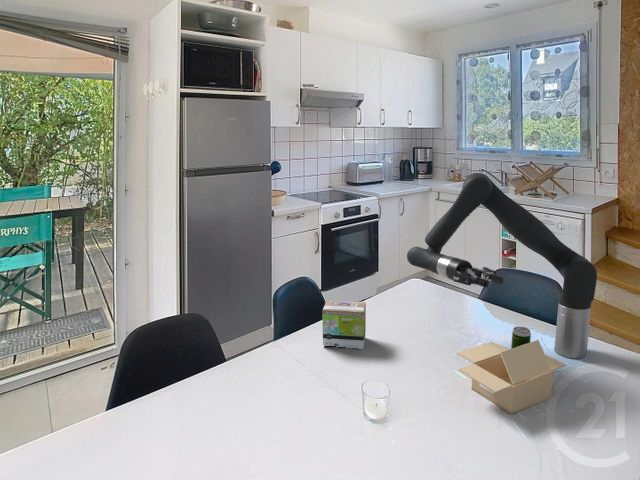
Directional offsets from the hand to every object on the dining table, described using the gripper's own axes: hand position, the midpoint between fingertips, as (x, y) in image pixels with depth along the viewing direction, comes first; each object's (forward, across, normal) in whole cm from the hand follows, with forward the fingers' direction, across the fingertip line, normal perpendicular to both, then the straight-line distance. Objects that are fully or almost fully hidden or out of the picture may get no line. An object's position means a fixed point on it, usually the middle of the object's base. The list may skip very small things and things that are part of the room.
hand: (494, 282), depth 129 cm
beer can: (0, +13, +30) cm, 33 cm away
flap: (+17, -3, +22) cm, 28 cm away
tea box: (-42, -28, +30) cm, 59 cm away
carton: (+7, -3, +30) cm, 31 cm away
